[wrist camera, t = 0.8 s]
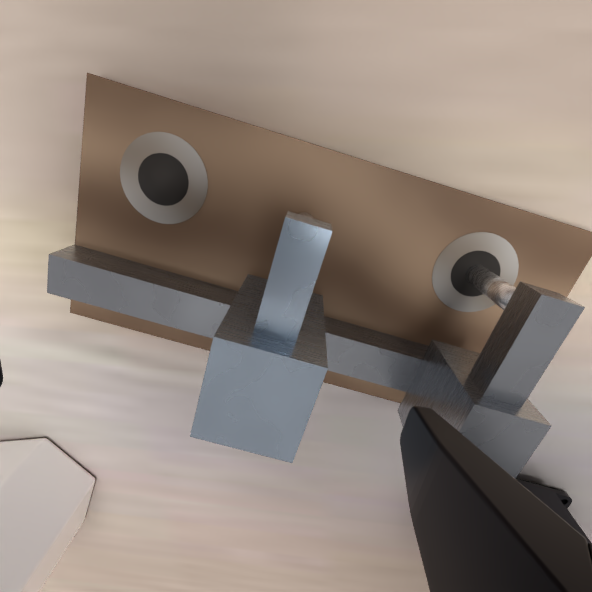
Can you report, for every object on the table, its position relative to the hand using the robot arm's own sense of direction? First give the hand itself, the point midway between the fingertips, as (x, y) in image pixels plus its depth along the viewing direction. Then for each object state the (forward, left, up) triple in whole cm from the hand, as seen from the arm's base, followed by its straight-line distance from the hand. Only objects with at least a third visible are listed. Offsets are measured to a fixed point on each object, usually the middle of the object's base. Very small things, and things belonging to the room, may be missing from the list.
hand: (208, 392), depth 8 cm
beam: (-1, -2, -11) cm, 12 cm away
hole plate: (0, -3, -12) cm, 13 cm away
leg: (-1, -1, -11) cm, 11 cm away
